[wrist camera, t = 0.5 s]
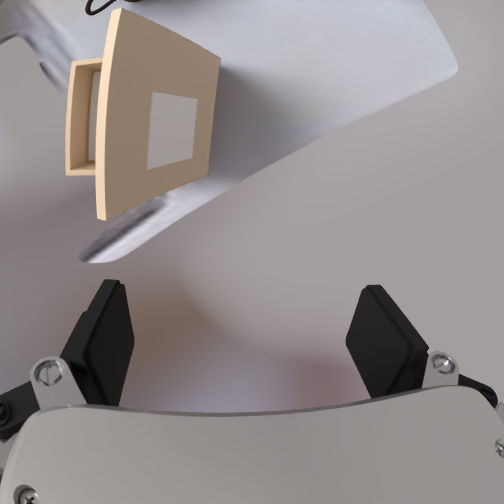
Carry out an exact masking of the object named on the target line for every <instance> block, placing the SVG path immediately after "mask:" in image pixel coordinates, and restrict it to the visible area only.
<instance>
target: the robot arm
mask: <svg viewBox="0 0 504 504" xmlns="http://www.w3.org/2000/svg"><path fill="white" fill-rule="evenodd" d="M346 346H347V348H348V350H349V352H350V354H351V356H352V358H353V361H354V363H355V365H356V367H357V369H358V371H359V373H360V375H361V377H362V380H363V382H364V384H365V386H366V388H367V390H368V392H369V395H370V396H371V399H367V400H362V401H356V402H350V403H343V404H336V405H329V406H321V407H313V408H304V409H293V410H280V411H264V412H235V413H204V412H177V411H162V410H148V409H137V408H127V407H118V406H119V402H120V398H121V393H122V389H123V385H124V381H125V378H126V374H127V370H128V366H129V362H130V359H131V355H132V351H133V348H134V334H133V329H132V324H131V319H130V314H129V308H128V303H127V296H126V290H125V286H124V284H120V281H119V280H110V279H109V280H108V279H105V280H104V281H103V283H102V285H101V286H100V288H99V290H98V291H97V293H96V295H95V297H94V299H93V300H92V302H91V304H90V306H89V307H88V309H87V311H85V312H83V313H82V315H81V317H80V318H79V320H78V322H77V324H76V326H75V328H74V329H73V332H72V333H71V335H70V337H69V339H68V341H67V343H66V345H65V347H64V349H63V351H62V353H61V355H60V357H59V358H58V357H46V358H43V359H41V360H39V361H38V362H37V363H36V364H34V366H33V367H32V369H31V373H30V379H31V381H29V382H27V383H25V384H23V385H21V386H19V387H16V388H14V389H12V390H10V391H8V392H6V393H4V394H2V395H0V504H504V404H503V403H502V402H500V403H499V404H498V399H497V395H496V393H495V392H494V390H493V389H491V387H489V386H487V385H485V384H482V383H480V382H477V381H475V380H472V379H470V378H467V377H465V376H463V375H461V374H459V368H458V364H457V362H456V361H455V359H454V358H453V357H451V356H450V355H449V354H446V353H444V352H440V351H439V352H438V351H435V352H432V353H431V354H430V355H429V354H428V353H427V351H428V349H429V347H428V345H427V344H426V343H425V341H424V340H423V338H422V337H421V336H420V334H419V333H418V332H417V330H416V329H415V328H414V327H413V326H412V324H411V322H410V321H409V320H408V319H407V317H406V316H405V315H404V314H403V312H402V311H401V310H400V308H399V307H398V306H397V304H396V303H395V302H394V301H393V299H392V298H391V297H390V296H389V295H388V293H387V292H386V291H385V289H384V288H383V287H382V286H381V285H367V286H366V287H365V288H364V289H363V290H362V292H361V294H360V298H359V301H358V304H357V307H356V310H355V313H354V316H353V319H352V322H351V325H350V328H349V331H348V333H347V336H346Z"/></svg>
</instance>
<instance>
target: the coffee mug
mask: <svg viewBox="0 0 504 504" xmlns="http://www.w3.org/2000/svg"><path fill="white" fill-rule="evenodd" d="M114 1H116V0H110V1H109V2H107V3H106V4H105V5H103V6H102V7H101V8H99V9H97V10H95V11H92V12H91V10H90V7H91V4H92V2H93V0H88V2H87V5H86V8H85V11H86V13H87V14H88V15H95V14H97V13H99V12H101V11H102V10H104V9H105V8H106V7H108V6H109V5H110V4H112V3H113V2H114ZM125 1H128V2H137V1H141V0H125Z"/></svg>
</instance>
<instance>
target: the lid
mask: <svg viewBox="0 0 504 504" xmlns="http://www.w3.org/2000/svg"><path fill="white" fill-rule="evenodd" d="M220 60H221V58H220V57H218V56H216V55H215V54H213V53H211V52H210V51H208V50H206V49H204V48H203V47H201V46H199V45H197V44H196V43H194V42H192V41H190V40H188V39H186V38H185V37H183V36H181V35H179V34H177V33H175V32H173V31H171V30H169V29H167V28H165V27H163V26H161V25H159V24H157V23H155V22H153V21H151V20H148V19H146V18H144V17H142V16H139V15H137V14H135V13H133V12H130V11H128V10H126V9H123V8H120V9H116V10H113V11H112V13H111V18H110V22H109V27H108V32H107V38H106V43H105V49H104V56H103V62H102V70H101V78H100V87H99V97H98V109H97V125H96V201H97V202H96V203H97V218H98V219H102V220H108V219H110V218H112V217H114V216H116V215H118V214H120V213H122V212H124V211H126V210H128V209H131V208H133V207H135V206H137V205H139V204H141V203H143V202H146V201H148V200H150V199H152V198H154V197H157V196H159V195H161V194H163V193H166V192H168V191H170V190H173V189H175V188H177V187H180V186H182V185H184V184H187V183H189V182H191V181H194V180H196V179H199V178H201V177H204V176H206V175H208V171H209V159H210V148H211V138H212V128H213V118H214V109H215V100H216V92H217V83H218V75H219V68H220Z"/></svg>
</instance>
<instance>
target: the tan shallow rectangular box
mask: <svg viewBox="0 0 504 504" xmlns="http://www.w3.org/2000/svg"><path fill="white" fill-rule="evenodd" d="M102 62H103V57H99V58H91V59H84V60H78V61H72V65H71V72H70V81H69V90H68V101H67V117H66V175H96V125H97V109H98V97H99V87H100V78H101V70H102ZM201 178H202V177H201Z"/></svg>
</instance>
